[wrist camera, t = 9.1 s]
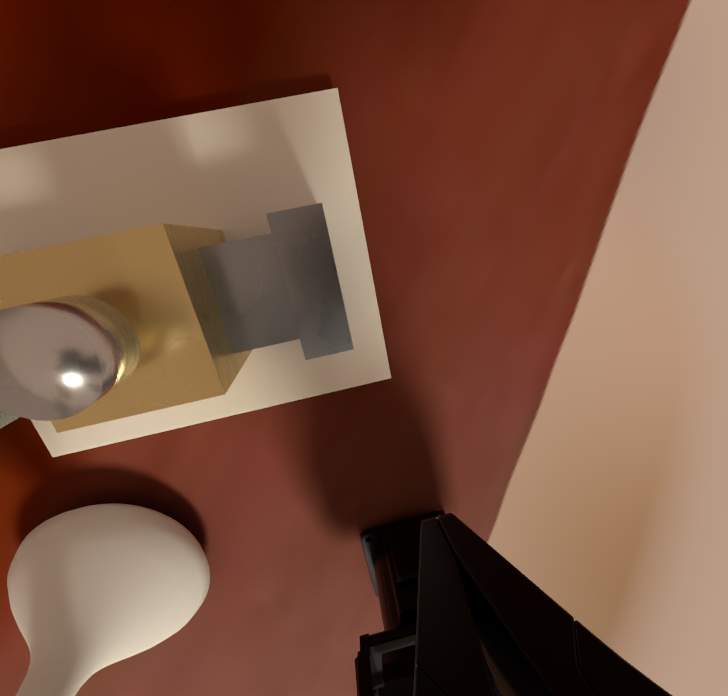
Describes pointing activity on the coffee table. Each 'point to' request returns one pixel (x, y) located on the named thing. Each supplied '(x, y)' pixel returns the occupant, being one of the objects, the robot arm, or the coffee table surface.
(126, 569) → the white rounded piece
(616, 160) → the coffee table surface
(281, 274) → the blocks
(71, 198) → the mounting board
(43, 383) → the valve lever
